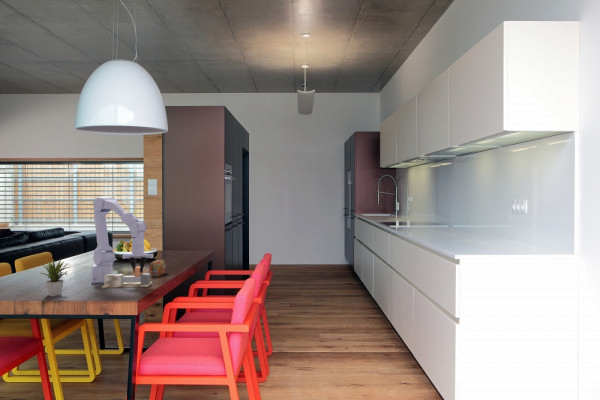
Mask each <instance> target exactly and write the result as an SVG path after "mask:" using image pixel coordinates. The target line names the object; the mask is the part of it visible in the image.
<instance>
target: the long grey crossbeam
mask: <svg viewBox="0 0 600 400" xmlns="http://www.w3.org/2000/svg"><path fill="white" fill-rule="evenodd" d="M141 275H142V273H140V266H136V267H135V273H134V275H124V276H122V283H139V282H141Z"/></svg>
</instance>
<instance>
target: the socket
mask: <svg viewBox="0 0 600 400" xmlns="http://www.w3.org/2000/svg"><path fill="white" fill-rule="evenodd" d="M150 282H151V274H150V272H142V273H141V285H148V284H149V283H150Z"/></svg>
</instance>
